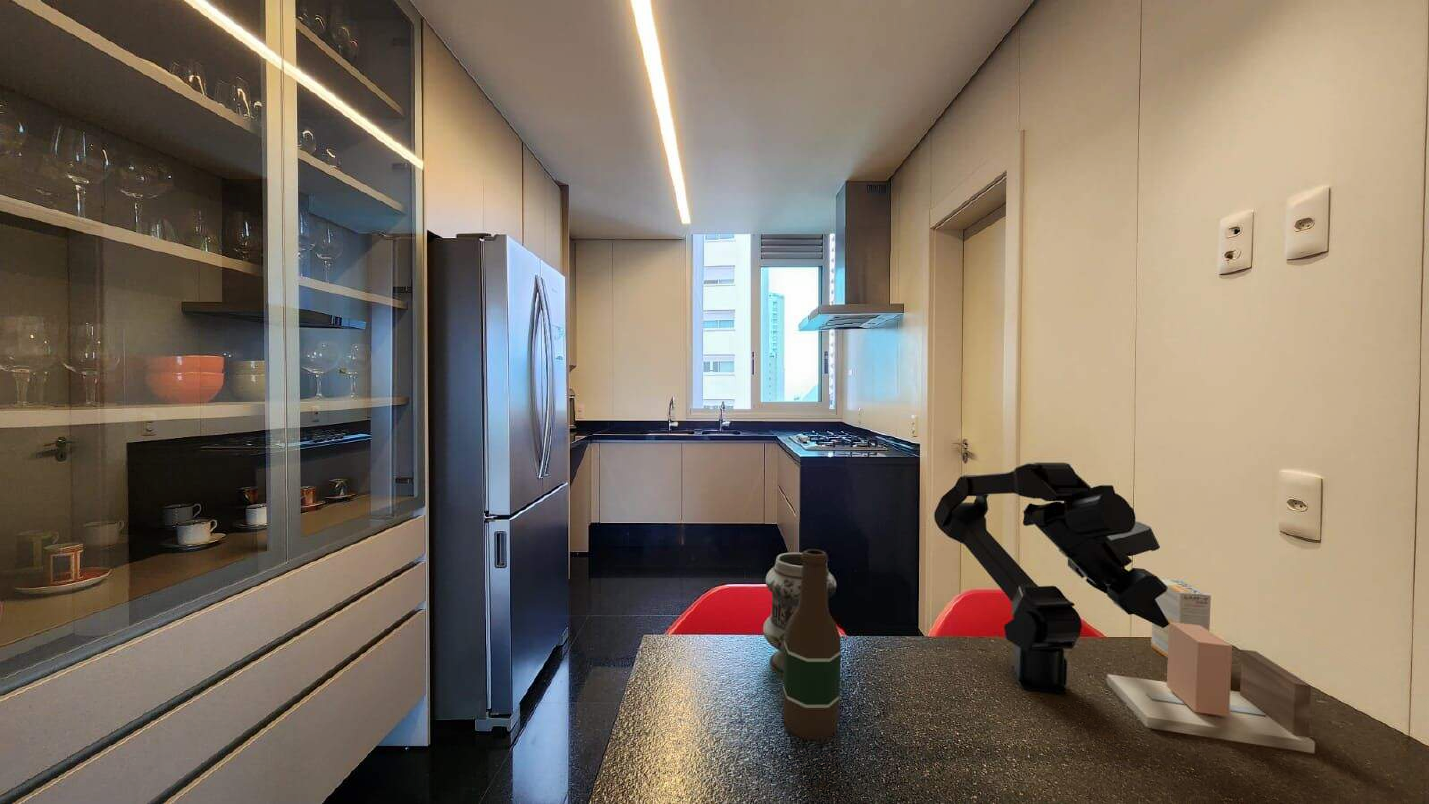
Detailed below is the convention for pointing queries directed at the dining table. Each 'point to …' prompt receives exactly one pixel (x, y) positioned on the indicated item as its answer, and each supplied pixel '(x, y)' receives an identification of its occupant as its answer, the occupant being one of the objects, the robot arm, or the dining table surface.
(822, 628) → the beer bottle
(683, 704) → the dining table surface
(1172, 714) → the track
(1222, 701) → the tan rectangular block
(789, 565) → the apothecary jar
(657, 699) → the dining table surface
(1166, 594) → the supplement box
